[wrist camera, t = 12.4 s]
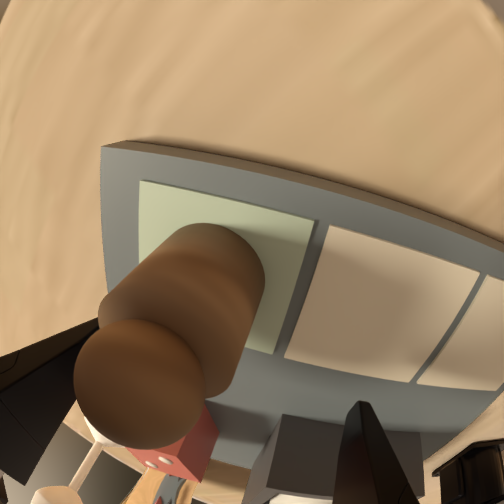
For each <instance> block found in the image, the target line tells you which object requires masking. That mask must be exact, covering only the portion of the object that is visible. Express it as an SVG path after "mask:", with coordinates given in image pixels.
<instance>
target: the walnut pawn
mask: <svg viewBox="0 0 504 504" xmlns="http://www.w3.org/2000/svg"><path fill="white" fill-rule="evenodd" d="M264 288H265V273H264V269H263V265H262V263H261V261H260V259H259V257H258V255H257V253H256V252H255V250H254V249H253V248H252V247H251V245H250V244H249V243H248V242H247V241H246V240H244V239H243V238H242V237H241V236H240V235H238V234H236V233H235V232H233V231H231V230H229V229H227V228H225V227H222V226H220V225H216V224H211V223H194V224H189V225H186V226H184V227H182V228H180V229H178V230H177V231H175V232H174V233H173V234H172V235H170V236H169V237H168V238H167V239H166V240H165V241H164V242H163V243H162V244H160V245H159V246H158V247H157V248H156V249H155V250H154V251H153V252H152V253H151V254H149V255H148V256H147V257H146V258H145V259H144V260H143V261H142V262H141V263H140V264H139V265H138V266H137V267H135V268H134V269H133V270H132V271H131V272H130V273H129V274H128V275H127V276H126V277H125V278H124V279H123V280H122V281H121V282H120V283H119V284H118V285H117V286H116V287H115V288H114V289H112V290H111V291H110V292H109V293H108V294H107V295H106V296H105V298H104V299H103V300H102V302H101V304H100V306H99V310H98V323H99V328H100V329H99V330H98V331H97V332H95V333H94V334H93V335H92V336H91V337H90V338H89V339H88V340H87V341H86V343H85V344H84V345H83V347H82V348H81V350H80V352H79V354H78V357H77V360H76V363H75V368H74V390H75V395H76V398H77V402H78V404H79V406H80V408H81V411H82V413H83V414H84V416H85V417H86V419H87V420H88V421H89V423H90V424H91V425H92V426H93V427H94V428H95V429H96V430H97V431H98V432H99V433H100V434H102V435H103V436H104V437H106V438H107V439H109V440H111V441H112V442H114V443H117V444H119V445H122V446H124V447H128V448H133V449H139V450H151V449H159V448H162V447H166V446H169V445H171V444H173V443H175V442H177V441H178V440H180V439H181V438H183V437H184V436H185V435H187V434H188V433H189V432H190V431H191V429H192V428H193V427H194V425H195V424H196V423H197V421H198V419H199V417H200V416H201V413H202V410H203V407H204V404H205V399H208V398H213V397H215V396H218V395H220V394H222V393H223V392H224V391H226V390H227V389H228V387H229V386H230V385H231V382H232V380H233V377H234V375H235V372H236V369H237V366H238V364H239V361H240V358H241V355H242V352H243V350H244V347H245V344H246V341H247V338H248V336H249V333H250V330H251V327H252V324H253V321H254V319H255V316H256V313H257V310H258V307H259V304H260V301H261V298H262V295H263V292H264Z"/></svg>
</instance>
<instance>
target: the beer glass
mask: <svg viewBox="0 0 504 504" xmlns="http://www.w3.org/2000/svg"><path fill="white" fill-rule="evenodd" d="M207 468H208V465H207ZM207 468H206V470H207ZM205 472H206V471H205ZM197 484H198V482H195V481H191V480H188V479H184V478H180V477H177V476H173V475H170V474H167V473H164V472H160V471H157V470H154V469H151V468H149V467H146V469H145V471H144V473H143V475H142V477H141V478H140V480H139V481H138V482H137V484H136V485H135V486H134V487H133V489H132V490H131V491H130V492H129V493H128V495H127V496H126V497H125V498H124V500H123V501H122V502H121V504H190V503H191V499H192V496H193V493H194V490H195V488H196V486H197Z"/></svg>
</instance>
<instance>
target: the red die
mask: <svg viewBox="0 0 504 504" xmlns="http://www.w3.org/2000/svg"><path fill="white" fill-rule="evenodd" d="M219 433H220V432H219V431H218V429H217V427H216V425H215V423H214V421H213V419H212V417H211V415H210V413H209V411H208V409H207V407H206V405H205V404H204V407H203V410H202V413H201V416H200V417H199V419H198V421H197V423H196V424H195V425H194V427H193V428H192V429H191V431H190V432H189V433H188V434H187V435H185V436H184V437H183V438H181V439H180V440H178V441H177V442H175V443H173V444H171V445H169V446H166V447H162V448H159V449H151V450H139V449H133V448H128V447H125V448H126V449H127V450H128V451H130V452H131V453H132V454H133V455H134V456H135V457H136V458H137V459H138V460H139V461H140V462H141V463H142V464H143V465H144V466H146V467H149V468H151V469H154V470H157V471H160V472H164V473H167V474H170V475H173V476H177V477H180V478H184V479H188V480H191V481H195V482H199V483H201V481H202V478H203V476H204V473H205V471H206V468H207V465H208V463H209V460H210V457H211V455H212V452H213V449H214V446H215V444H216V441H217V438H218V436H219Z"/></svg>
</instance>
